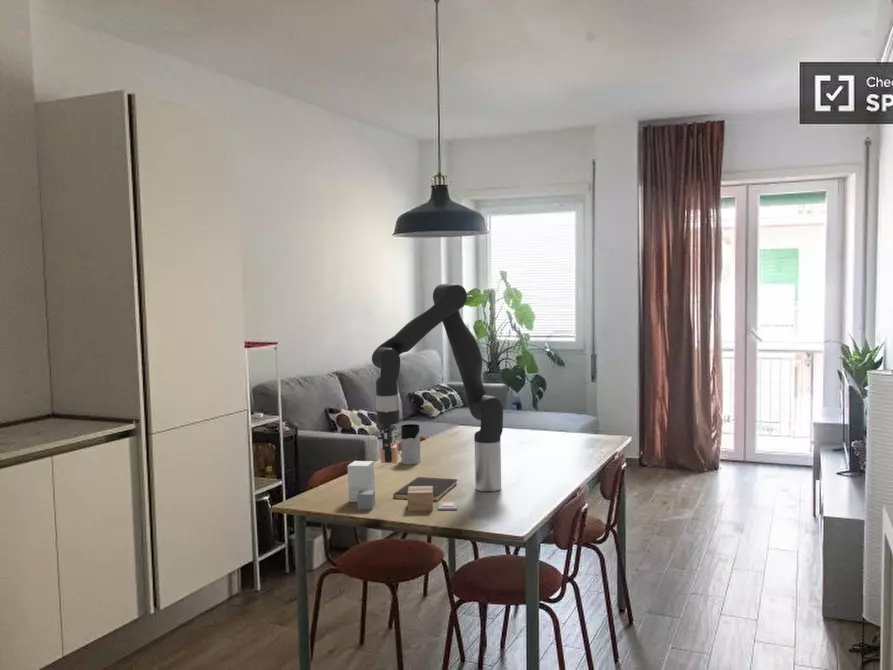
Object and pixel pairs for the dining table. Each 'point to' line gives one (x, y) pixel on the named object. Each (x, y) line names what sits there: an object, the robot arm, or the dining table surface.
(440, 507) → the card
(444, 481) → the hardcover book
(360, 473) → the supplement box
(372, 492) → the grey cube
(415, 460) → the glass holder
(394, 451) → the terracotta block
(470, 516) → the dining table surface
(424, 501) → the walnut base block
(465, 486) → the dining table surface
